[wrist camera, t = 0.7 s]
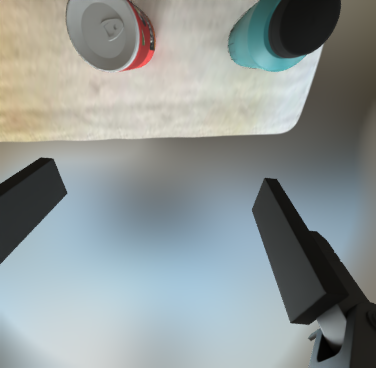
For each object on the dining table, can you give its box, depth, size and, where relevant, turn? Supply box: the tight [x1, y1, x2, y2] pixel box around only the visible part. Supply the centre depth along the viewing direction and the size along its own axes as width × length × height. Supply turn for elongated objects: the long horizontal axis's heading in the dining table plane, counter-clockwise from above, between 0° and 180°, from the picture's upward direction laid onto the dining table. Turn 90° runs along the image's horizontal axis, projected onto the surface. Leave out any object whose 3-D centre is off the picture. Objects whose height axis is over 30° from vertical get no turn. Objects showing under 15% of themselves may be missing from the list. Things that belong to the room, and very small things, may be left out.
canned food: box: [66, 0, 156, 72], centre depth 24 cm, size 8×8×11 cm
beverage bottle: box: [228, 0, 341, 72], centre depth 20 cm, size 6×7×20 cm
